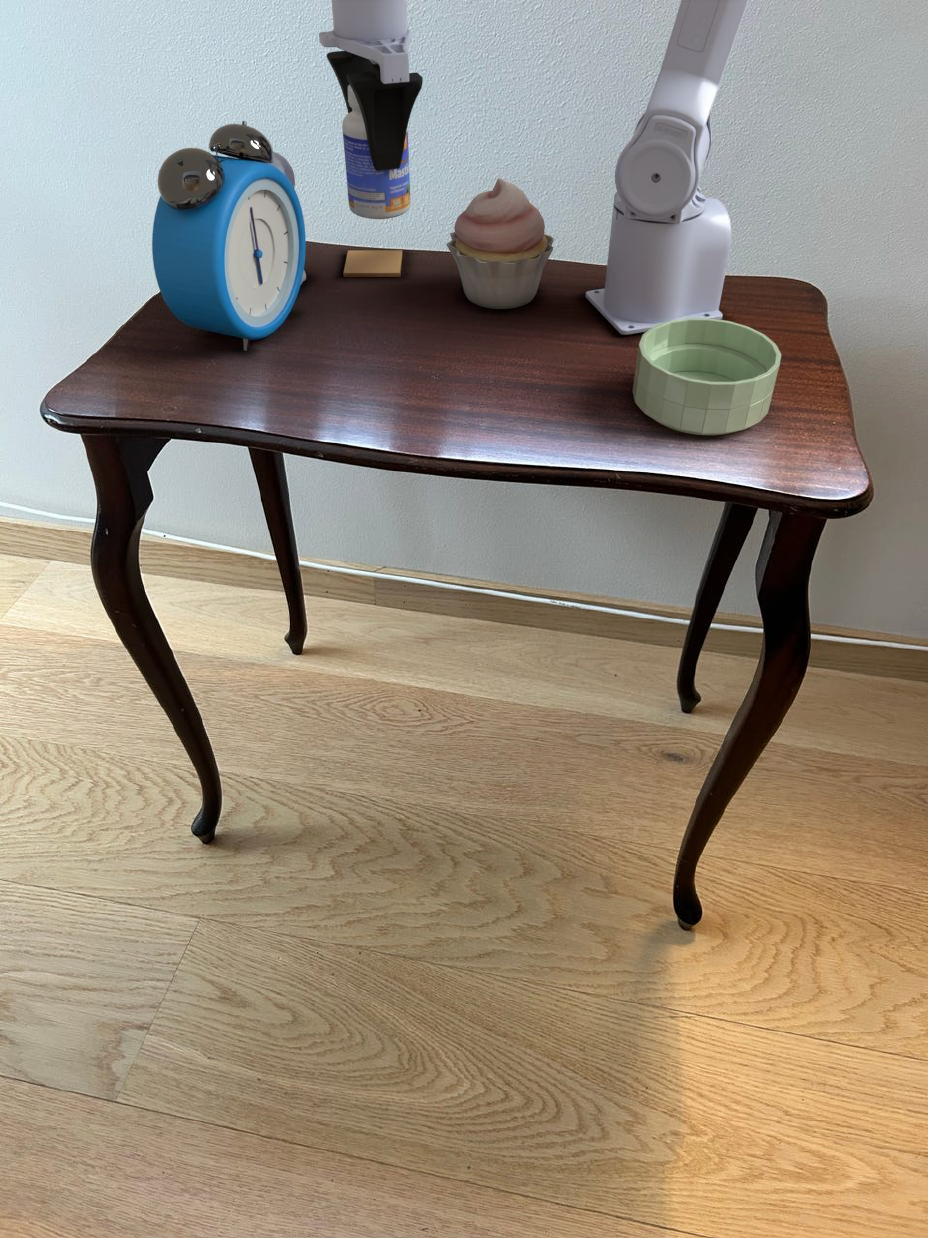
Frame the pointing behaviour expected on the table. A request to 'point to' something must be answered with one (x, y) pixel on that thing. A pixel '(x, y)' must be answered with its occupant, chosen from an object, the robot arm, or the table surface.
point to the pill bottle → (372, 172)
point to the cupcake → (500, 248)
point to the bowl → (705, 375)
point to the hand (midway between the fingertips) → (378, 156)
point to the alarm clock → (228, 236)
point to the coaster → (373, 263)
